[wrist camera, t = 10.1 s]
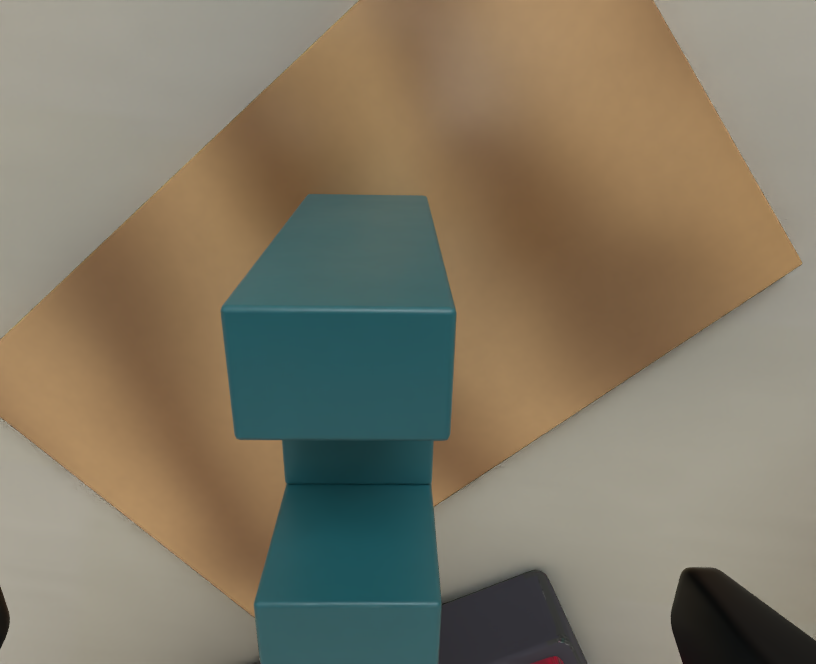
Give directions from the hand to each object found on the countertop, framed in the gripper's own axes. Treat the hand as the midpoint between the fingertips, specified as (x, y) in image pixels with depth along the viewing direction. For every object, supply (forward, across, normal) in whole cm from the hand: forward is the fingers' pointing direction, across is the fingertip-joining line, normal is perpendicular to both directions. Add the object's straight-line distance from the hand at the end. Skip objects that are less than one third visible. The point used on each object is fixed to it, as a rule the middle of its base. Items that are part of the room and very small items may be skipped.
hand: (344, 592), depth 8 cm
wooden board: (+10, 0, 0) cm, 10 cm away
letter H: (+9, 0, 0) cm, 9 cm away
